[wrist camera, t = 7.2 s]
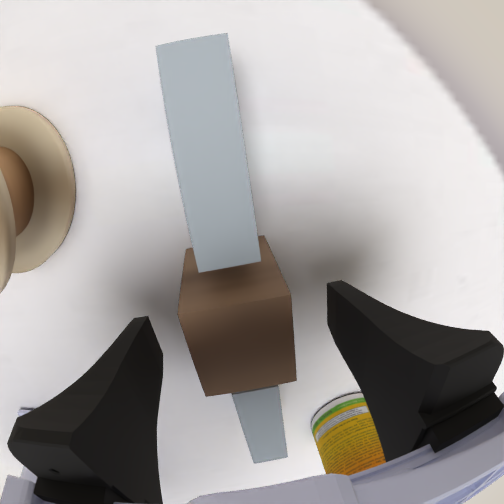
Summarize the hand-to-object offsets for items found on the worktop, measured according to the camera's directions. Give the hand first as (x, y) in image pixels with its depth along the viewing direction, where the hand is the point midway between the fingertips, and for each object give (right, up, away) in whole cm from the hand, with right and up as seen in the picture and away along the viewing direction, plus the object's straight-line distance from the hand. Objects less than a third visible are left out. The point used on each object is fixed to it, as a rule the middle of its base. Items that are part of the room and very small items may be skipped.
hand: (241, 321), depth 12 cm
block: (0, +1, +3) cm, 3 cm away
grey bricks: (0, +1, +3) cm, 3 cm away
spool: (-11, +6, -1) cm, 13 cm away
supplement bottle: (+7, -9, +9) cm, 15 cm away
